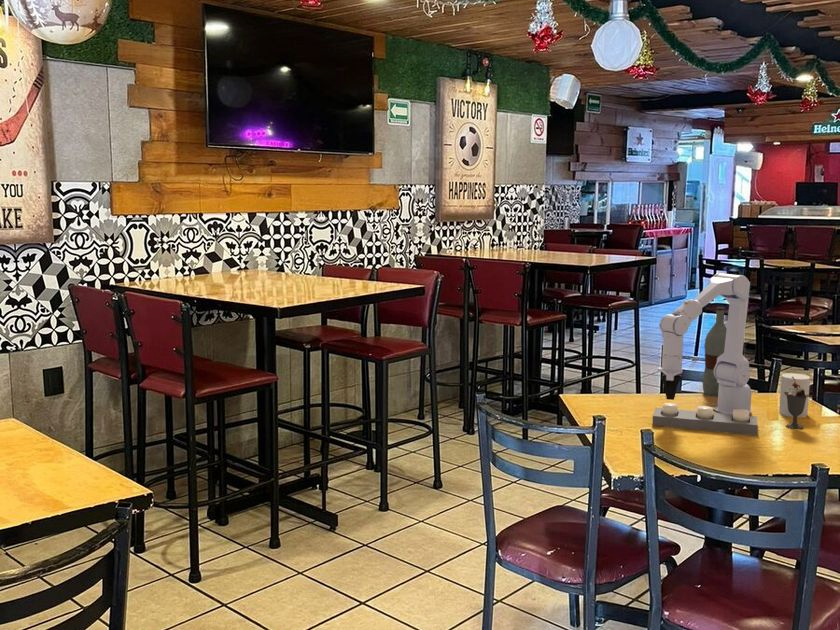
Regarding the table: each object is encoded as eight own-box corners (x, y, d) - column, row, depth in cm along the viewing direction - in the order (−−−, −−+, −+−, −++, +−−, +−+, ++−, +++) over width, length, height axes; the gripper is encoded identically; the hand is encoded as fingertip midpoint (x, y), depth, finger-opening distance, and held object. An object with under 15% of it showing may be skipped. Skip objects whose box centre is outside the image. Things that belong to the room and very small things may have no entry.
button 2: (732, 418, 246) (733, 408, 246) (748, 419, 245) (749, 409, 244) (732, 422, 242) (733, 412, 242) (748, 423, 241) (749, 413, 240)
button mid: (697, 415, 250) (697, 405, 249) (712, 416, 248) (713, 406, 248) (696, 418, 246) (697, 409, 245) (712, 420, 244) (712, 410, 244)
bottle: (735, 396, 283) (740, 308, 278) (710, 397, 281) (715, 309, 277) (721, 389, 292) (725, 305, 287) (696, 390, 291) (701, 305, 286)
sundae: (784, 422, 251) (788, 374, 248) (808, 426, 247) (812, 377, 245) (779, 428, 245) (783, 378, 243) (804, 431, 241) (807, 381, 239)
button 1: (662, 412, 253) (663, 402, 253) (677, 413, 252) (678, 403, 251) (661, 415, 249) (661, 406, 249) (676, 417, 248) (677, 407, 247)
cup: (794, 409, 266) (796, 372, 264) (813, 415, 258) (816, 378, 257) (773, 411, 264) (775, 374, 262) (792, 418, 256) (794, 380, 254)
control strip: (655, 417, 257) (655, 407, 257) (756, 426, 247) (756, 416, 247) (652, 425, 248) (652, 415, 247) (757, 435, 238) (757, 425, 237)
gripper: (660, 349, 256) (658, 392, 258) (656, 358, 242) (654, 403, 244) (684, 350, 253) (682, 394, 255) (681, 360, 240) (679, 405, 242)
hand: (670, 399), depth 250 cm, fingers closed
